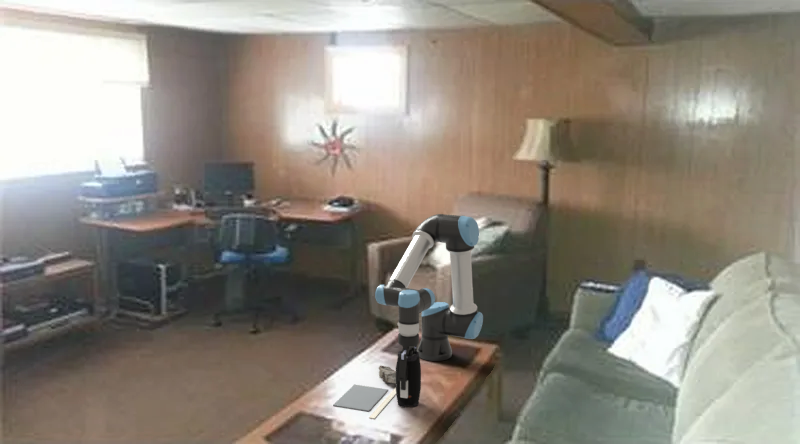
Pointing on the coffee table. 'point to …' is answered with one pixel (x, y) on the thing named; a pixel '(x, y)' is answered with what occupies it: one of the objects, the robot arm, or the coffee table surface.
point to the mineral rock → (387, 374)
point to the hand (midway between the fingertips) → (408, 392)
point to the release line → (383, 404)
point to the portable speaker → (410, 381)
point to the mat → (361, 397)
